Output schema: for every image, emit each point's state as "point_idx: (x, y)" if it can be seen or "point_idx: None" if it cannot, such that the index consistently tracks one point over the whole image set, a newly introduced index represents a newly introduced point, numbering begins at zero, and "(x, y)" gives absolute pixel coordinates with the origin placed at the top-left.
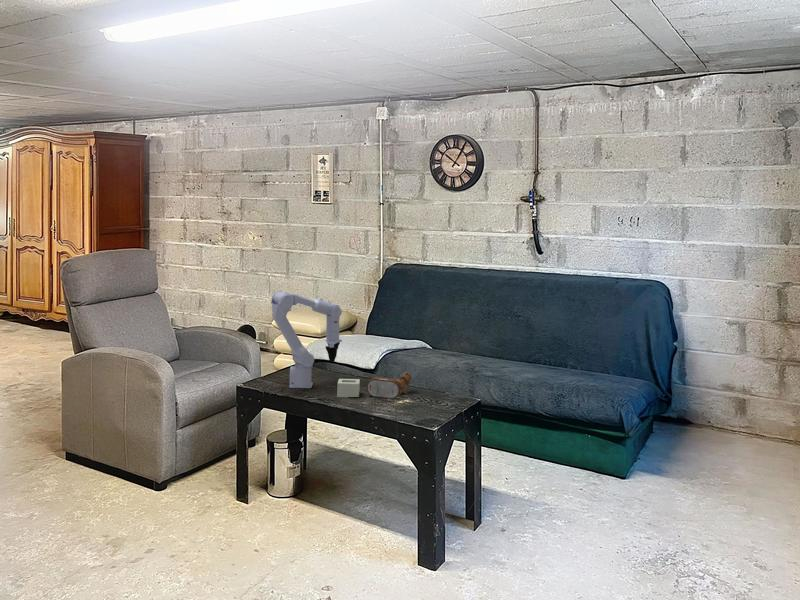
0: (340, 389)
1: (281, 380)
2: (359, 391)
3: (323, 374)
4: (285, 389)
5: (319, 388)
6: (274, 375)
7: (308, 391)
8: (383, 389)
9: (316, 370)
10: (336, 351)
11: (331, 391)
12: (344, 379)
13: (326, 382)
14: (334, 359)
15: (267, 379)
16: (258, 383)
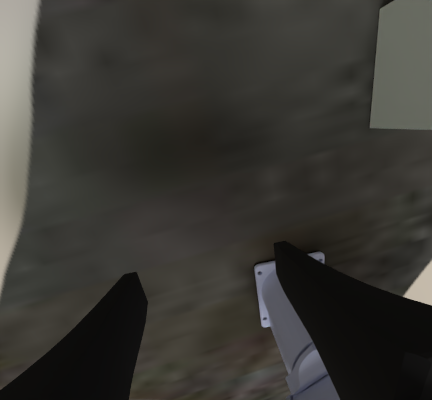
0: None
1: (228, 359)
2: (391, 3)
3: (78, 275)
4: None
5: (313, 222)
6: (172, 394)
7: (359, 245)
8: None
9: (23, 319)
10: (106, 322)
11: (356, 163)
12: None
13: (212, 224)
14: (300, 251)
15: (227, 390)
16: (278, 390)
